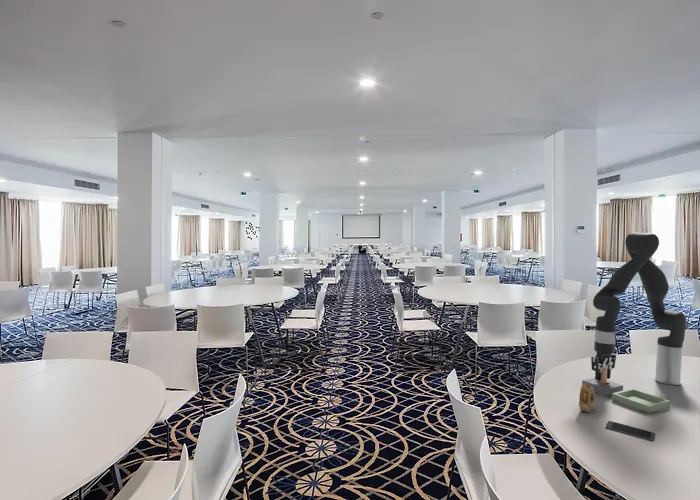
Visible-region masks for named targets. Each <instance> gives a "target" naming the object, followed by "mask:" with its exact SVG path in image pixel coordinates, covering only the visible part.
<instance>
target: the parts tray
mask: <svg viewBox="0 0 700 500" xmlns="http://www.w3.org/2000/svg"><path fill="white" fill-rule="evenodd" d="M611 401H612V402H615V403H617V404H619V405H623V406H625V407H628V408H631V409H633V410H636V411H639V412H641V413H644V414H646V415H652V414H655V413H658V412H661V411H665V410H668V409H670V407H671V400H669V399H666V398H662V397H660V396H658V395H654V394H651V393H649V392H644V391H642V390H639V389H635V388H628V389H623V391H620V392H616V393H612V396H611Z"/></svg>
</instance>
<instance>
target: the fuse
mask: <svg viewBox="0 0 700 500" xmlns="http://www.w3.org/2000/svg"><path fill="white" fill-rule="evenodd" d="M599 369H600V367H599ZM607 369H608V366H606V365H605V366H604V368H602V371H601V373H602V374H601V381H599V382H598V383H600V384H603V385H607V380H608V379H607Z"/></svg>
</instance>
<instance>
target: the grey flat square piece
mask: <svg viewBox="0 0 700 500" xmlns="http://www.w3.org/2000/svg"><path fill="white" fill-rule="evenodd" d="M598 382H599V381H598V380H595V377H591V378H587V379H582V383H581V386H582V385H583V384H590V385H592V386H594V391H595V394H597V395H599V394H600V395H599V396H602V397H605V398H609V397H612V393H616V392H620V391H624V385H623V384H620V383H618V382H614V381H612V380H609V379H607V385H603V384H600V383H598Z"/></svg>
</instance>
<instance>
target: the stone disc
mask: <svg viewBox="0 0 700 500" xmlns="http://www.w3.org/2000/svg"><path fill="white" fill-rule="evenodd" d="M595 394H596V393H595V391H594V386H592V385H590V384H583V385H582V384H581V386H580V390H579V399H578V406H579V410H580V411H582V412H586V413H591V412H592V410H593V409H594V406H595V401H596V395H595Z"/></svg>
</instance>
